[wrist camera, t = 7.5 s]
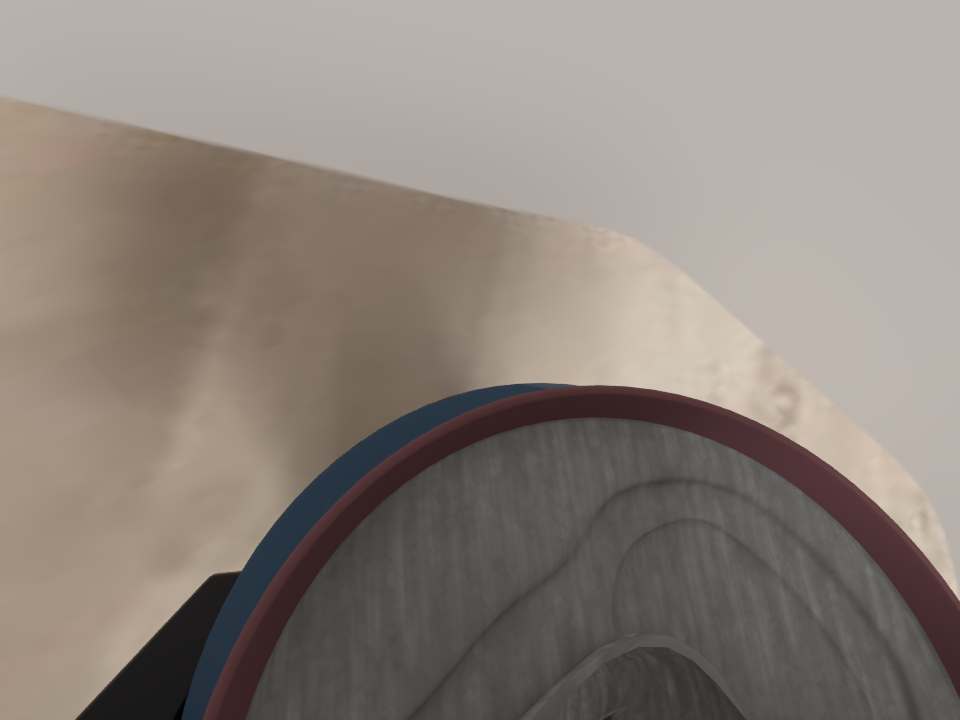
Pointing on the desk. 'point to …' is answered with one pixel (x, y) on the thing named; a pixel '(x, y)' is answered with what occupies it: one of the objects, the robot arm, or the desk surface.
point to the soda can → (582, 577)
